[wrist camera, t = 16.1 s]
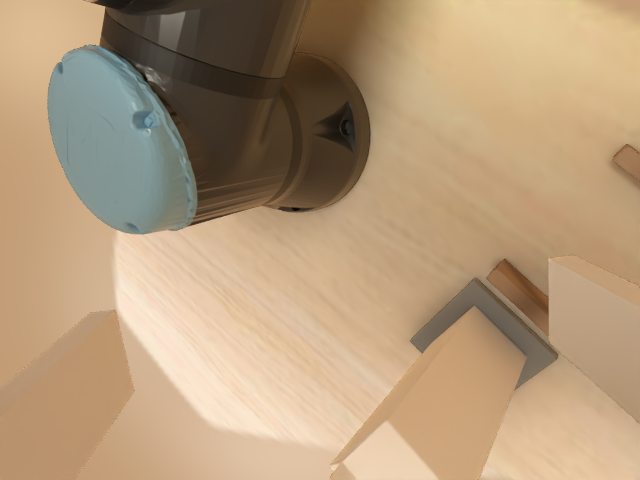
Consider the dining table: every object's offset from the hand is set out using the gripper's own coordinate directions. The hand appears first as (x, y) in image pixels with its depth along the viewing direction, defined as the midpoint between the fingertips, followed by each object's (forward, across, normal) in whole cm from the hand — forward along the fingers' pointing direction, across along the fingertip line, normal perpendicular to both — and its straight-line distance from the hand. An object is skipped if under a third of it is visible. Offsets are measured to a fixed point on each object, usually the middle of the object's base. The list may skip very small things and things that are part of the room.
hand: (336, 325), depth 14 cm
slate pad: (+26, +13, -15) cm, 32 cm away
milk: (+25, +12, -15) cm, 32 cm away
